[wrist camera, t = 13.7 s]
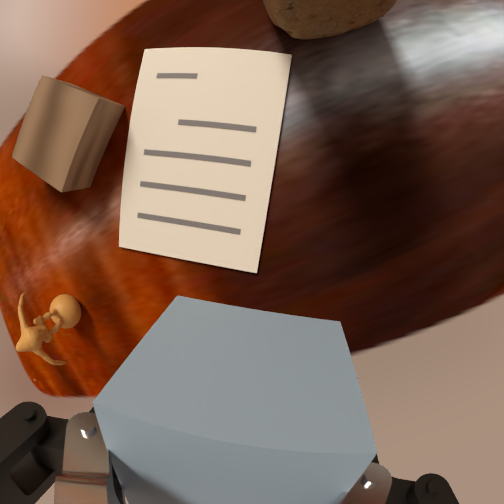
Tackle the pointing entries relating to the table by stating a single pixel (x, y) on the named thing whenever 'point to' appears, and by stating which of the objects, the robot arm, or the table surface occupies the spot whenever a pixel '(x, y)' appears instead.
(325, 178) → the table surface
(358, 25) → the block
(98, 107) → the walnut block
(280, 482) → the slate cube
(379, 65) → the table surface
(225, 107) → the letter
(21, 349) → the figurine
